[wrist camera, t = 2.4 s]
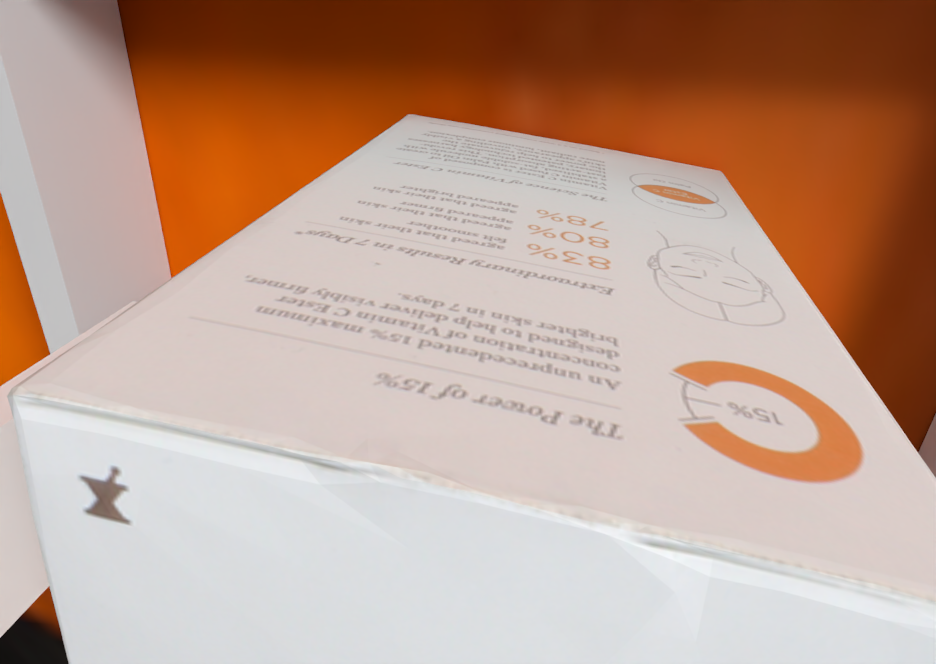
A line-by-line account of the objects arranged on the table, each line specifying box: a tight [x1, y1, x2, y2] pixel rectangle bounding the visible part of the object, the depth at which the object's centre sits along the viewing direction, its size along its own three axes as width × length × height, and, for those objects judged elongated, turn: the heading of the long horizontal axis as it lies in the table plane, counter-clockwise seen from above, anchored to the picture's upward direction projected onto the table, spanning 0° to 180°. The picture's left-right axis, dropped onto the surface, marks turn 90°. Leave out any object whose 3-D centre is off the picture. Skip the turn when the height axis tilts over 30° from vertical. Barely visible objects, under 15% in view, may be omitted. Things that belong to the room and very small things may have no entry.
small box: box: [7, 114, 936, 664], centre depth 12 cm, size 8×6×13 cm
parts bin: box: [0, 0, 936, 478], centre depth 16 cm, size 24×16×4 cm, turn 87°
